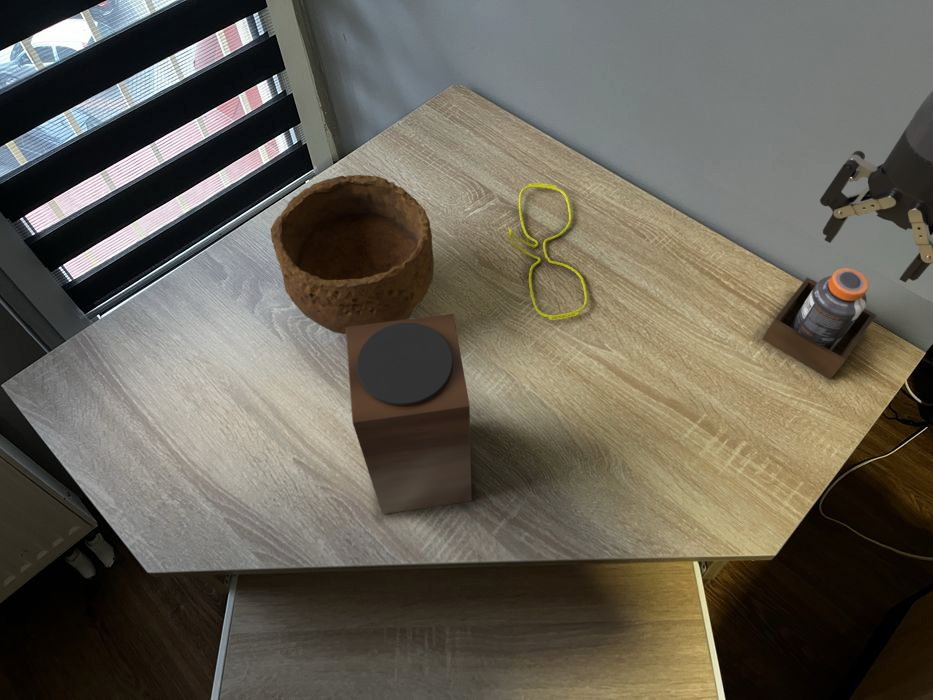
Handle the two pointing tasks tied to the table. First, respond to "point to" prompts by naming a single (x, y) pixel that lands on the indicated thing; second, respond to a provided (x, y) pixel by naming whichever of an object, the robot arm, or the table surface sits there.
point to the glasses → (546, 253)
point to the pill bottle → (832, 307)
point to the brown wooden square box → (806, 347)
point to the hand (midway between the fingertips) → (867, 256)
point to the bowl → (354, 252)
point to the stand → (414, 432)
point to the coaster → (404, 364)
